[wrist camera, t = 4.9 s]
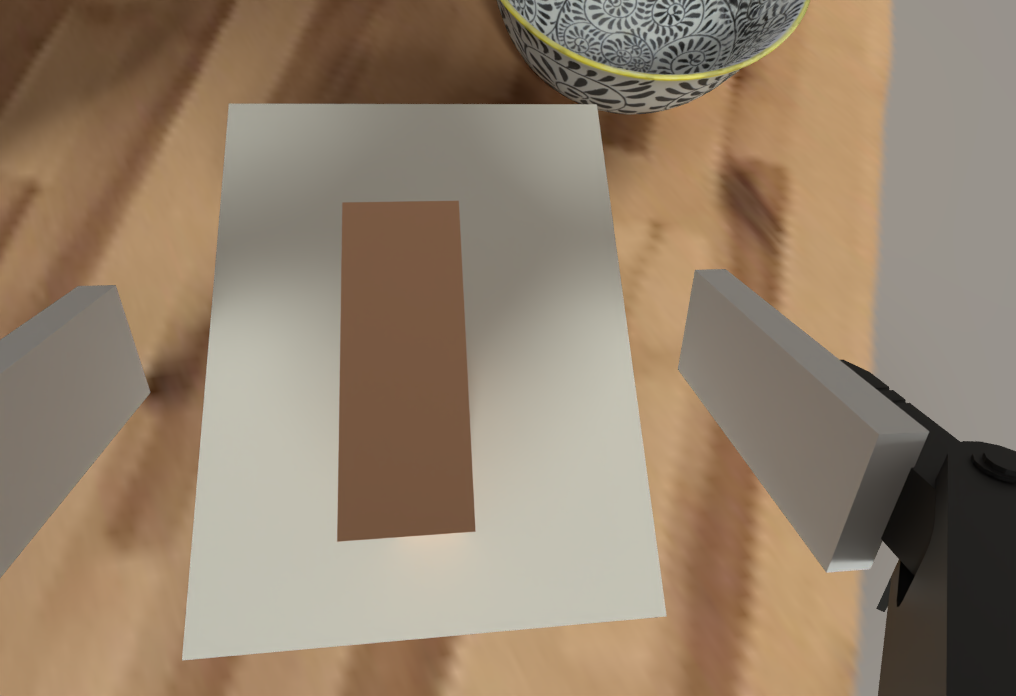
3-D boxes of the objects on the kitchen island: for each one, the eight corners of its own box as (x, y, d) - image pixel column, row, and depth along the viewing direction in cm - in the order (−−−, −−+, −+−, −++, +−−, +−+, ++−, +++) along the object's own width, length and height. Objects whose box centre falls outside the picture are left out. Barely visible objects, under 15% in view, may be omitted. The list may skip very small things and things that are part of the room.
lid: (237, 120, 19) (71, -192, 11) (591, 120, 21) (684, -161, 12) (196, 653, 15) (-148, 818, 6) (656, 611, 16) (879, 704, 8)
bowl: (493, -65, 36) (502, -212, 29) (742, -18, 37) (813, -151, 29) (449, 152, 31) (447, 40, 24) (738, 202, 32) (820, 107, 25)
